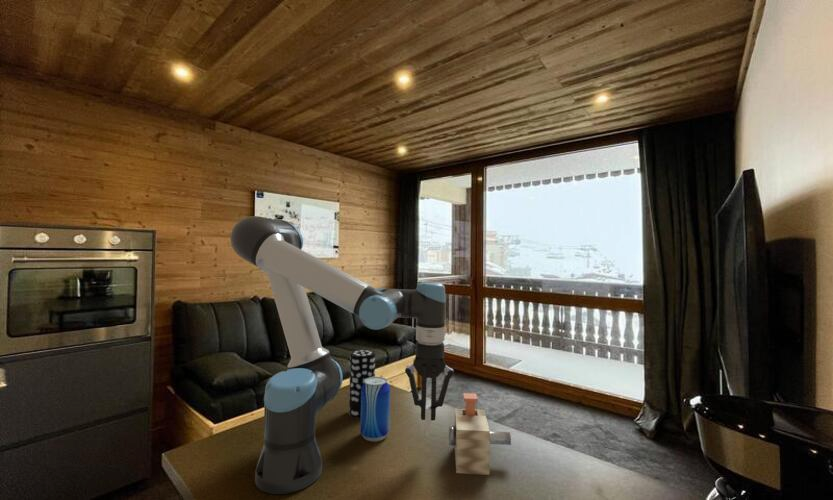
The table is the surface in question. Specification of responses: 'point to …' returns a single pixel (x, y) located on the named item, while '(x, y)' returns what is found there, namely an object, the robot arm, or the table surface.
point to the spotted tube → (359, 378)
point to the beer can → (375, 409)
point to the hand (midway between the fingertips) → (427, 431)
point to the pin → (495, 437)
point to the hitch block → (472, 443)
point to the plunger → (470, 403)
